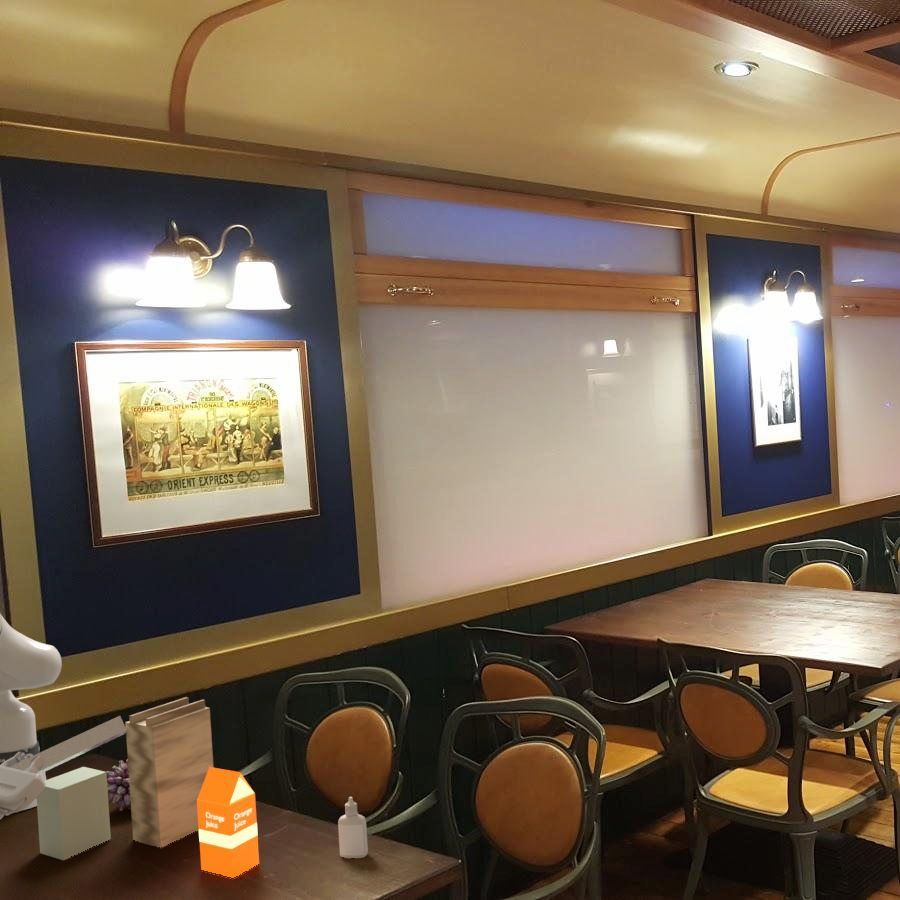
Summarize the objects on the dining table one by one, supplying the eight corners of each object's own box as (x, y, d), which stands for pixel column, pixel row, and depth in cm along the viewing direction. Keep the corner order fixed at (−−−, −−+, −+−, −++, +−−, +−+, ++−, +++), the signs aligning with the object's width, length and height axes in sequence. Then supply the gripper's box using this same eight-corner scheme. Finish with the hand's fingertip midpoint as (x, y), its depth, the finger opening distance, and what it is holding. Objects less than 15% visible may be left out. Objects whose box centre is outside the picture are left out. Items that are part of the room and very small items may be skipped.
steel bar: (14, 786, 216) (7, 770, 217) (124, 733, 229) (118, 719, 229) (14, 783, 213) (7, 767, 214) (126, 730, 226) (120, 715, 227)
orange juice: (232, 879, 205) (226, 778, 204) (200, 871, 210) (194, 772, 209) (260, 863, 212) (254, 766, 211) (228, 856, 216) (222, 760, 216)
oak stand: (133, 840, 227) (124, 715, 227) (189, 815, 241) (181, 696, 240) (160, 848, 222) (152, 719, 222) (216, 821, 236) (209, 700, 235)
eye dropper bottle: (356, 862, 210) (353, 803, 209) (336, 856, 213) (333, 798, 213) (371, 854, 213) (367, 796, 213) (351, 848, 217) (348, 791, 216)
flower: (110, 823, 238) (107, 771, 238) (99, 808, 249) (96, 758, 248) (161, 811, 244) (158, 761, 244) (148, 796, 254) (145, 748, 254)
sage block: (40, 853, 223) (35, 783, 223) (87, 833, 233) (83, 766, 233) (63, 860, 219) (58, 789, 218) (110, 839, 229) (106, 771, 228)
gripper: (2, 805, 201) (54, 751, 211) (-56, 789, 213) (-4, 739, 222) (19, 827, 204) (70, 773, 213) (-39, 810, 215) (11, 760, 225)
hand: (32, 756), depth 218 cm, fingers closed on steel bar, 5 cm apart
